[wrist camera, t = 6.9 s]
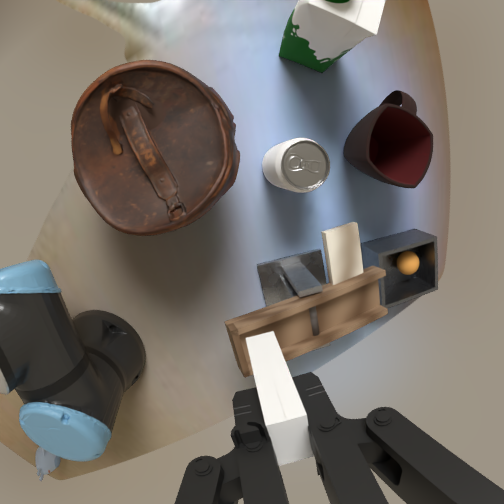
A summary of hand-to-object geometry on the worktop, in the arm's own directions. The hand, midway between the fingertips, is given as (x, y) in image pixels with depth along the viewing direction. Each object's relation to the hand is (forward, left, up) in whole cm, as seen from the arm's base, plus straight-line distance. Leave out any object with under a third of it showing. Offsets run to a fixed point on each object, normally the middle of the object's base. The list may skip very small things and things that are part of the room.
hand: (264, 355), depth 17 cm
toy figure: (-54, -38, -32) cm, 74 cm away
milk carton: (+18, +26, -32) cm, 45 cm away
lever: (+7, -7, -22) cm, 25 cm away
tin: (+25, -11, -32) cm, 42 cm away
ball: (+25, -11, -29) cm, 39 cm away
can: (+10, +8, -32) cm, 34 cm away
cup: (+24, +10, -32) cm, 41 cm away
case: (-6, +14, -32) cm, 36 cm away
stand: (+8, -11, -32) cm, 34 cm away
